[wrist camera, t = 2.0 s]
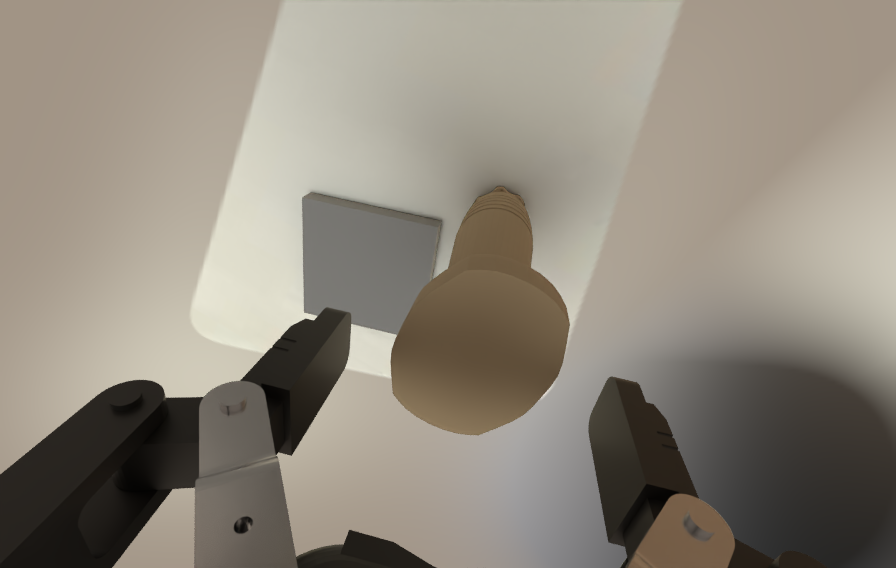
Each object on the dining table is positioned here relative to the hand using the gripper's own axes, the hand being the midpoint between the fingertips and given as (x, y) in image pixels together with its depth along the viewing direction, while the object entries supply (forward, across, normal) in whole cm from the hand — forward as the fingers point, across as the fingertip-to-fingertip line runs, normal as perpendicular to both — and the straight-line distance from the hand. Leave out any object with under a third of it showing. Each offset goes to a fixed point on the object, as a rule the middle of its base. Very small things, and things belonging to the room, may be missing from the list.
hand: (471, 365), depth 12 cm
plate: (+15, +8, +6) cm, 18 cm away
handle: (+15, 0, 0) cm, 15 cm away
